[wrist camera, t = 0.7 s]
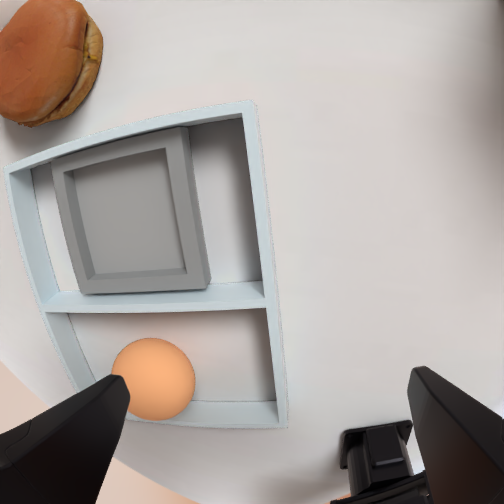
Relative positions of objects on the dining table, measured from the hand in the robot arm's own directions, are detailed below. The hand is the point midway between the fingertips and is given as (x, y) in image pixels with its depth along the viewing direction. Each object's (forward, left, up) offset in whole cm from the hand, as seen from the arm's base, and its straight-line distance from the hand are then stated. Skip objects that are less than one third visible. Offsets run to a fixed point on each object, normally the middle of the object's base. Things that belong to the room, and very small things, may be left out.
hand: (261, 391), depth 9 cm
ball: (-7, +9, -12) cm, 17 cm away
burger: (+16, +14, -12) cm, 25 cm away
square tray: (+4, +9, -12) cm, 15 cm away
